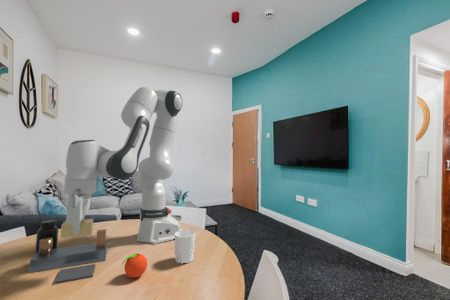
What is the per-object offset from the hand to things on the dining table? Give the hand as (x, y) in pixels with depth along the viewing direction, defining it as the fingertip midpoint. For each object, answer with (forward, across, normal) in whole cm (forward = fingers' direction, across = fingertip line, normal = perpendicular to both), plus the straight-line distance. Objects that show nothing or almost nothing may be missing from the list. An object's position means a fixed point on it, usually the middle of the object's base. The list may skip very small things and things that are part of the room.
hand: (78, 229), depth 71 cm
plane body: (+14, +11, +3) cm, 18 cm away
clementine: (+14, -9, -17) cm, 24 cm away
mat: (+14, 0, 0) cm, 14 cm away
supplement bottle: (+15, +25, +14) cm, 32 cm away
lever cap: (+1, 0, 0) cm, 1 cm away
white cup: (+14, -4, -35) cm, 38 cm away
